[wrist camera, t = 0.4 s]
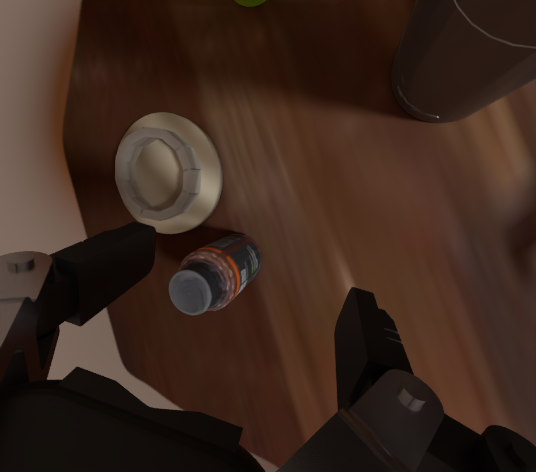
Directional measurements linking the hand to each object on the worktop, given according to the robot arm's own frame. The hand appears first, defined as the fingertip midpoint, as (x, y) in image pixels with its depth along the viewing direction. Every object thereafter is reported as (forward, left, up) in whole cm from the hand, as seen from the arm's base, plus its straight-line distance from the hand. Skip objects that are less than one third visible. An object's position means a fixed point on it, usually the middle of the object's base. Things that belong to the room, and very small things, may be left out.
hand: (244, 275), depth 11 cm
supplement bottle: (+9, -3, -20) cm, 22 cm away
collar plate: (+7, -16, -20) cm, 27 cm away
